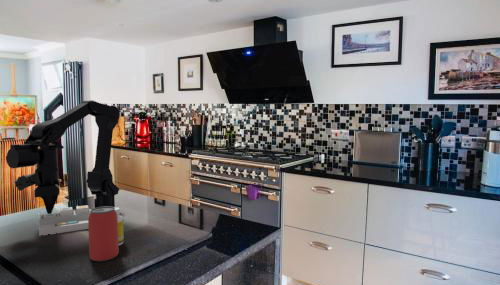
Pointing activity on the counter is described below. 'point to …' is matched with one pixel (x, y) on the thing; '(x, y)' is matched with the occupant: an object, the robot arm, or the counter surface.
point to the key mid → (66, 211)
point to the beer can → (103, 233)
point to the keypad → (63, 223)
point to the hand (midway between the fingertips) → (49, 213)
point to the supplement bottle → (120, 227)
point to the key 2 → (82, 209)
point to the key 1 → (49, 215)
